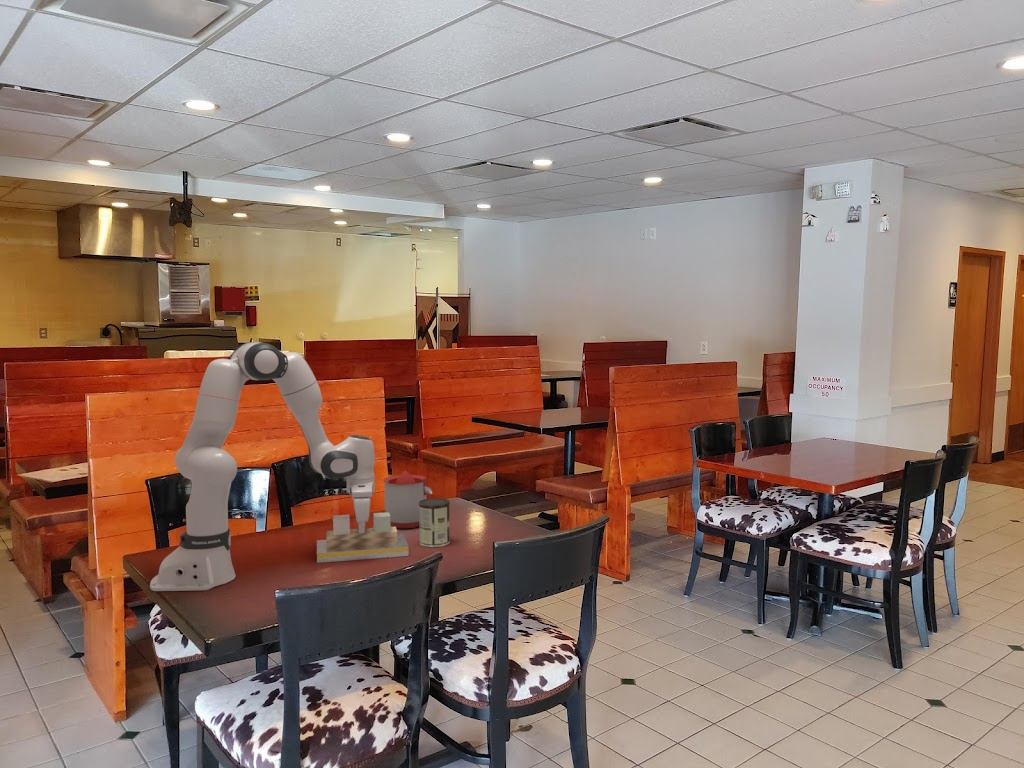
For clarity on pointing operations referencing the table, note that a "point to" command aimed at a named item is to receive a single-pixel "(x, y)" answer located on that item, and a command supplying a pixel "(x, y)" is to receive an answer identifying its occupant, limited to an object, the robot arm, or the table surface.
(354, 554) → the dock
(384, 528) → the pale green cube
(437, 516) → the coffee can
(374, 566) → the table surface
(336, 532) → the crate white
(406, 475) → the citrus juicer
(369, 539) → the checkered beige brown block
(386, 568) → the table surface
